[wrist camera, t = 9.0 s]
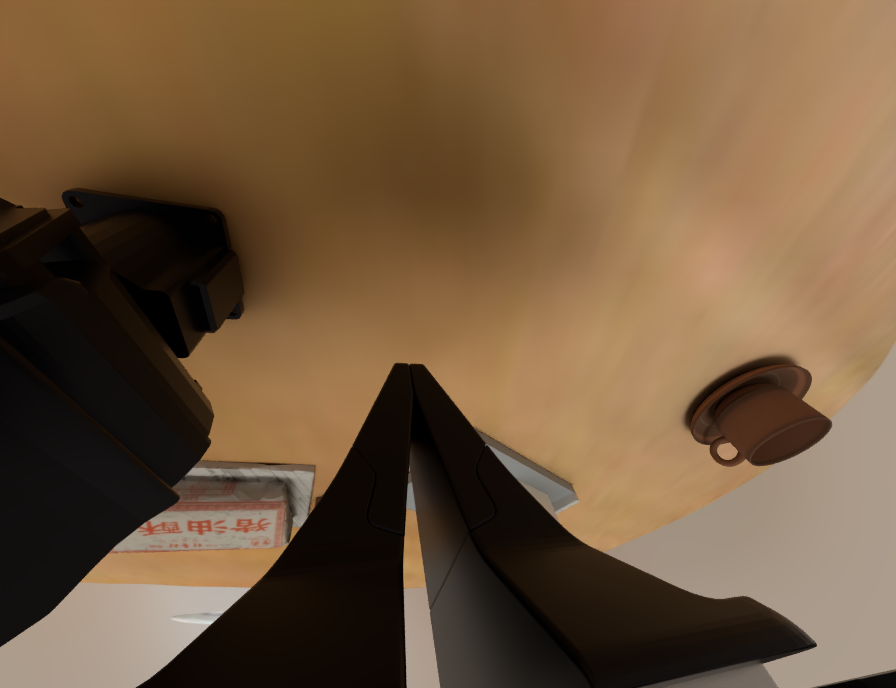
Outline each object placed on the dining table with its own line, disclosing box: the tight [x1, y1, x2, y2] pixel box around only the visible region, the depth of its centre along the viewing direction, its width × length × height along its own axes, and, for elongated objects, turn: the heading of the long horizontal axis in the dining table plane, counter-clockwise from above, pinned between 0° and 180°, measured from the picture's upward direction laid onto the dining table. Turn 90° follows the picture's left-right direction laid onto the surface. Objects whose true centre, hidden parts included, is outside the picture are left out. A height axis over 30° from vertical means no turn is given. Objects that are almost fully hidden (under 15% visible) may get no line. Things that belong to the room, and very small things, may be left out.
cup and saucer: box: [690, 364, 832, 467], centre depth 33 cm, size 12×12×6 cm
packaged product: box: [109, 461, 315, 553], centre depth 29 cm, size 18×5×10 cm
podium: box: [406, 429, 580, 514], centre depth 37 cm, size 20×13×2 cm, turn 44°
